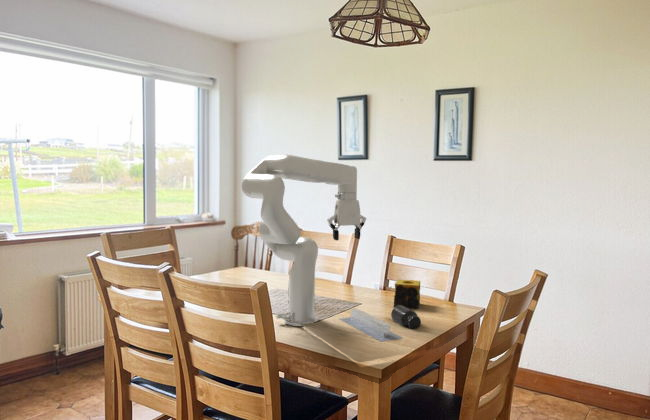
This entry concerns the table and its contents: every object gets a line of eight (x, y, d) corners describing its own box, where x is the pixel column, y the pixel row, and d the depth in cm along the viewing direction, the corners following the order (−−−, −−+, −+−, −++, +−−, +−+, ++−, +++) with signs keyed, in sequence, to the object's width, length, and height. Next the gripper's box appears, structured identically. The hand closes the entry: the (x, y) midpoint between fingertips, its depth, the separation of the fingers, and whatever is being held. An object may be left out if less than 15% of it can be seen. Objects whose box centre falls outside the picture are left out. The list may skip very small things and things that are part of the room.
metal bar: (383, 337, 173) (384, 325, 173) (350, 319, 192) (350, 309, 192) (390, 336, 174) (390, 324, 174) (356, 319, 193) (356, 308, 193)
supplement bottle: (410, 312, 195) (427, 322, 184) (397, 326, 194) (414, 336, 183) (399, 300, 193) (416, 309, 182) (387, 313, 192) (403, 323, 181)
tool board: (380, 345, 169) (380, 341, 169) (338, 322, 193) (338, 318, 193) (403, 341, 173) (403, 337, 173) (359, 319, 198) (359, 316, 197)
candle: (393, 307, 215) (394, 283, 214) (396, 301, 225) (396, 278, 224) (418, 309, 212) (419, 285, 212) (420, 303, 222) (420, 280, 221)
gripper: (332, 197, 201) (331, 241, 203) (370, 196, 209) (369, 239, 210) (323, 196, 208) (323, 239, 210) (361, 195, 216) (360, 236, 217)
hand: (346, 239), depth 210 cm, fingers open, 9 cm apart
